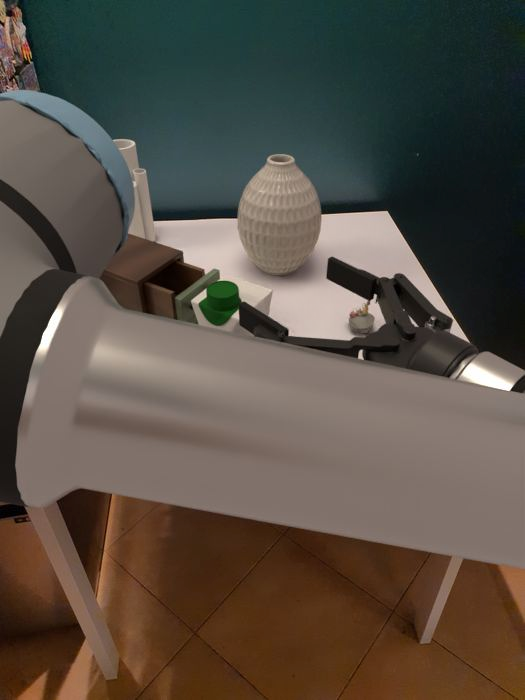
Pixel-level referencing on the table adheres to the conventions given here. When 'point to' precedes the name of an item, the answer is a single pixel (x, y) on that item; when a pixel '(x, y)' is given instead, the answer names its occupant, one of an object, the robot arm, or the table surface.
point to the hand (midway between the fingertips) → (287, 288)
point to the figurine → (361, 319)
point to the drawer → (176, 290)
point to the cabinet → (136, 270)
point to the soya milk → (229, 303)
